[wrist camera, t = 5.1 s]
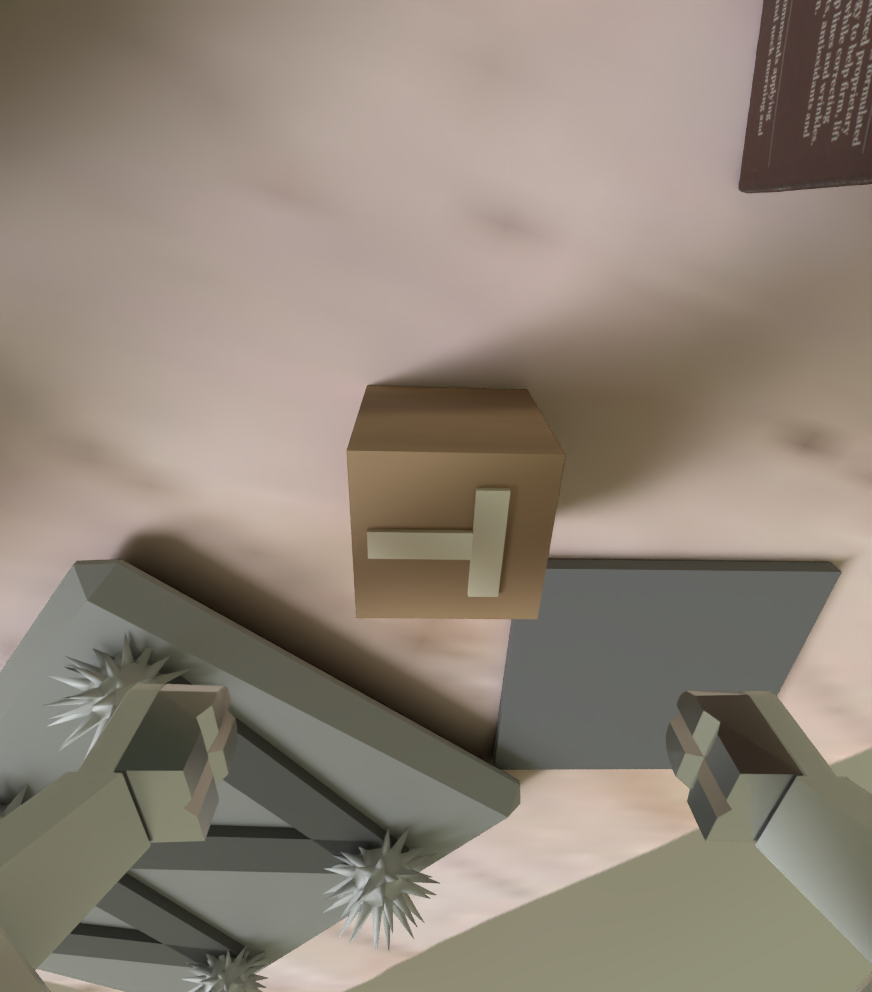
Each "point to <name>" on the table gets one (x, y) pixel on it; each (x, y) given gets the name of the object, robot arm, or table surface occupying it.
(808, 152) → the box
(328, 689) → the grey spiky constellation board
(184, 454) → the table surface
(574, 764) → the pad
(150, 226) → the table surface
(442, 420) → the letter cube
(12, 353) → the table surface
